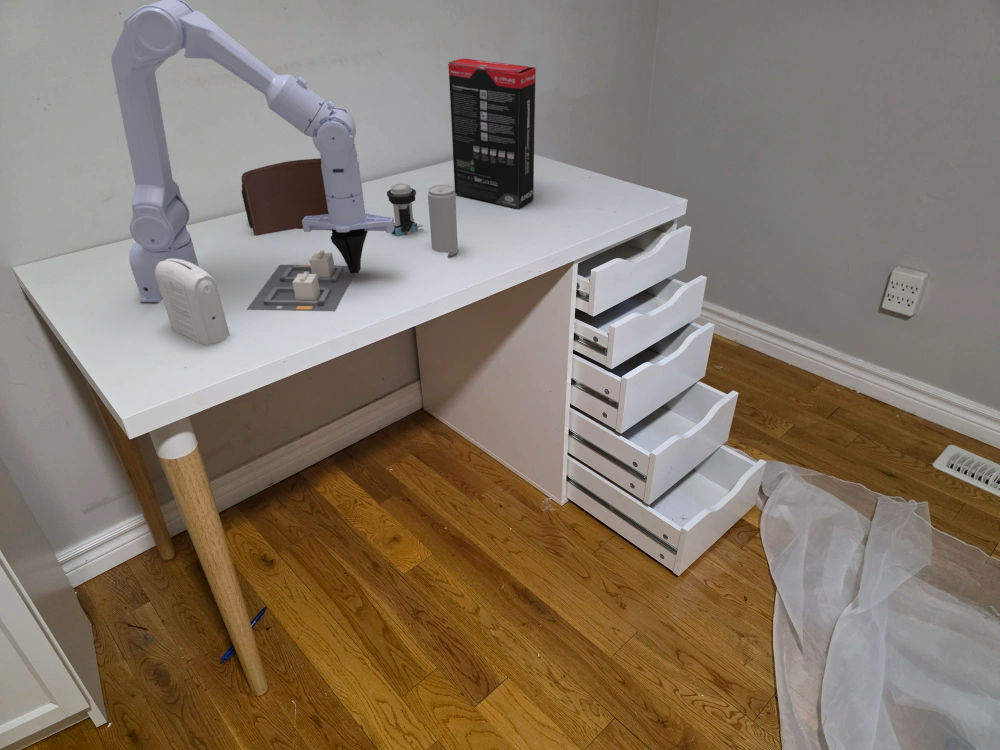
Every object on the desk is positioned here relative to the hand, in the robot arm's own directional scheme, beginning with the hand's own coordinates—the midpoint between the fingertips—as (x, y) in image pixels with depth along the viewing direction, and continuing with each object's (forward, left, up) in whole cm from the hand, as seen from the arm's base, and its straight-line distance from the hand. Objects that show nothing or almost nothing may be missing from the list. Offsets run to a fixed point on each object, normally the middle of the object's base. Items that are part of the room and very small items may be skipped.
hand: (355, 270), depth 116 cm
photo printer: (-19, -19, -2) cm, 27 cm away
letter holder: (-17, +25, -3) cm, 31 cm away
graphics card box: (+20, +40, -2) cm, 45 cm away
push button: (+5, +19, -2) cm, 20 cm away
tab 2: (-6, 0, -1) cm, 6 cm away
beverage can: (+13, +12, -2) cm, 19 cm away
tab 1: (-6, -8, -1) cm, 10 cm away
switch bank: (-8, -4, -2) cm, 9 cm away
